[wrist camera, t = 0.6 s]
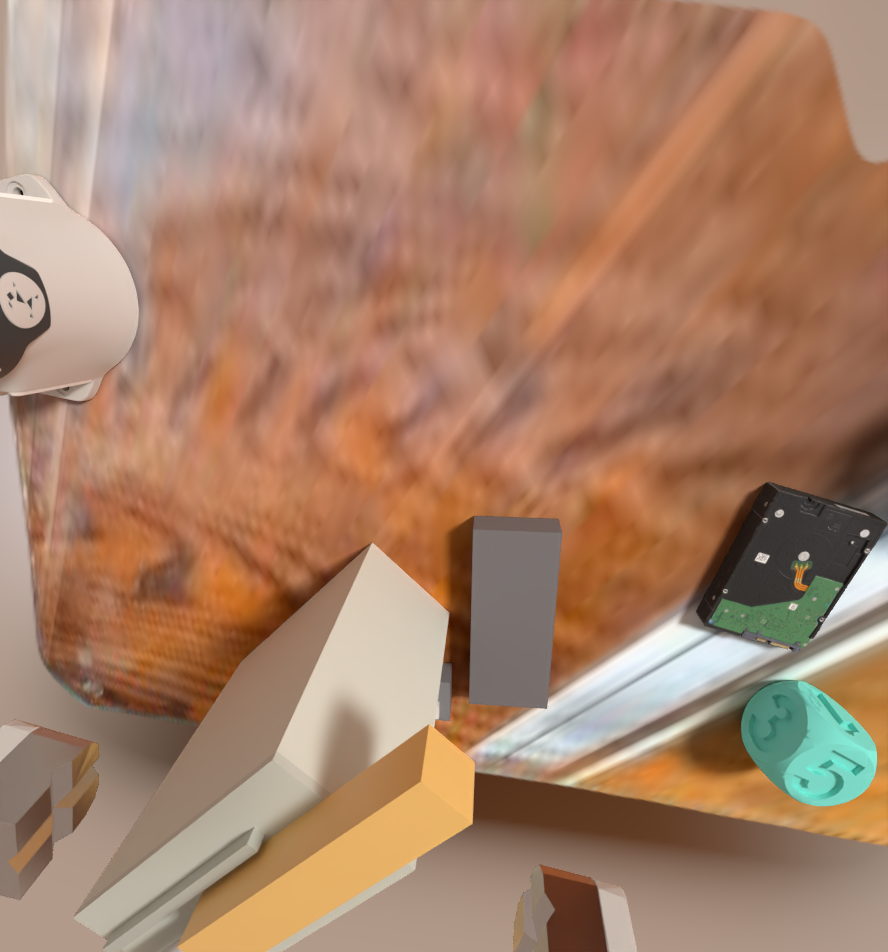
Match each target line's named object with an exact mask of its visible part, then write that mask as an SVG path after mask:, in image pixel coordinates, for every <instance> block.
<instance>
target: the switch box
mask: <svg viewBox="0 0 888 952" xmlns="http://www.w3.org/2000/svg"><path fill="white" fill-rule="evenodd" d="M451 704H452V663H443V665H442V672H441V680H440V687H439V695H438V703H437V710H436V718H435V720H442V721H450V714H451Z"/></svg>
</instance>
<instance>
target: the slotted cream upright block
mask: <svg viewBox="0 0 888 952" xmlns="http://www.w3.org/2000/svg"><path fill="white" fill-rule="evenodd" d="M448 620H449V612H448V611H447V610H446V609H445V608H444V607H442V606H441V605H440V604H439V603H438V602H437V601H436V600H435V599H434V598H433V597H432V596H430V595H429V594H428V593H427V592H426V591H425V590H424V589H423V588H422V587H421V586H419V585H418V584H417V583H416V582H415V581H414V580H413V579H412V578H411V577H410V576H408V575H407V574H406V573H405V572H404V571H403V570H402V569H401V568H400V567H399V566H397V565H396V564H395V563H394V562H393V561H392V560H391V559H390V558H389V557H388V556H386V555H385V554H384V553H383V552H382V551H381V550H380V549H379V548H378V547H377V546H375V545H374V544H373V543H371V544H370V545H369V546H368V547H367V548H366V549H365V550H363V551H362V552H361V553H360V554H359V555H358V556H357V557H356V558H355V559H353V560H352V561H351V562H350V563H349V564H348V565H347V566H346V567H345V568H344V569H342V570H341V571H340V572H339V573H338V574H337V575H336V576H335V577H334V578H333V579H331V580H330V581H329V582H328V583H327V584H326V585H325V586H324V587H323V588H322V589H320V590H319V591H318V592H317V593H316V594H315V595H314V596H313V597H312V598H311V599H309V600H308V601H307V602H306V603H305V604H304V605H303V606H302V607H301V608H299V609H298V610H297V611H296V612H295V613H294V614H293V615H292V616H291V617H290V618H288V619H287V620H286V621H285V622H284V623H283V624H282V625H281V626H280V627H279V628H277V629H276V630H275V631H274V632H273V633H272V634H271V635H270V636H269V637H268V638H266V639H265V640H264V641H263V642H262V643H261V644H260V645H259V646H258V647H257V648H255V649H254V650H253V651H252V652H251V653H250V654H249V655H248V656H247V657H245V658H244V659H243V660H242V661H241V663H240V664H239V666H238V667H237V669H236V670H235V672H234V673H233V675H232V676H231V678H230V679H229V681H228V683H227V684H226V686H225V687H224V689H223V690H222V692H221V693H220V695H219V696H218V698H217V699H216V701H215V702H214V704H213V705H212V707H211V708H210V710H209V711H208V713H207V714H206V716H205V718H204V719H203V721H202V722H201V724H200V725H199V727H198V728H197V730H196V731H195V733H194V734H193V736H192V737H191V739H190V740H189V742H188V743H187V745H186V746H185V748H184V749H183V751H182V753H181V754H180V756H179V757H178V759H177V760H176V762H175V763H174V765H173V766H172V768H171V769H170V771H169V772H168V774H167V775H166V777H165V778H164V780H163V781H162V783H161V785H160V786H159V788H158V789H157V791H156V792H155V794H154V795H153V797H152V798H151V800H150V801H149V803H148V804H147V806H146V807H145V809H144V811H143V812H142V814H141V815H140V816H139V818H138V820H137V821H136V823H135V824H134V826H133V827H132V829H131V830H130V832H129V833H128V835H127V836H126V838H125V839H124V841H123V842H122V844H121V845H120V847H119V848H118V850H117V851H116V853H115V855H114V856H113V858H112V859H111V861H110V862H109V864H108V865H107V867H106V868H105V870H104V871H103V873H102V874H101V876H100V877H99V879H98V881H97V882H96V883H95V885H94V886H93V888H92V889H91V891H90V893H89V894H88V896H87V897H86V899H85V900H84V902H83V903H82V905H81V906H80V908H79V909H78V911H77V912H76V914H75V916H74V917H73V919H75V920H77V921H78V922H80V923H81V924H83V925H84V926H86V927H88V928H89V929H91V930H92V931H94V932H95V933H97V934H98V935H100V936H102V937H103V938H105V939H106V940H108V941H107V942H106V944H105V946H104V948H103V949H102V950H103V951H105V952H119V951H120V950H121V949H122V950H124V951H125V952H160V951H162V950H163V949H164V948H166V947H167V946H169V945H170V944H172V943H173V942H175V941H176V940H178V939H179V938H180V937H182V935H183V933H184V931H185V929H186V927H187V925H188V922H189V920H190V918H191V916H192V914H193V912H194V910H195V908H196V906H197V903H198V901H199V899H200V897H201V895H202V893H203V891H204V890H205V889H207V888H208V887H209V886H211V885H212V884H214V883H215V882H216V881H218V880H219V879H221V878H222V877H223V876H225V875H226V874H228V873H229V872H230V871H232V870H233V869H234V868H236V867H237V866H239V865H240V864H241V863H243V862H244V861H246V860H247V859H248V858H250V857H251V856H253V855H254V854H255V853H257V852H258V850H259V848H260V845H262V844H263V843H265V842H266V841H267V840H269V839H270V838H272V837H273V836H274V835H276V834H277V833H279V832H280V831H281V830H283V829H284V828H285V827H287V826H288V825H290V824H291V823H292V822H294V821H295V820H297V819H298V818H299V817H301V816H302V815H303V814H305V813H306V812H308V811H309V810H310V809H312V808H313V807H315V806H316V805H317V804H319V803H320V802H322V801H323V800H324V799H326V798H327V797H328V796H330V795H331V794H333V793H334V792H335V791H337V790H338V789H340V788H341V787H342V786H344V785H345V784H346V783H348V782H349V781H351V780H352V779H353V778H355V777H356V776H358V775H359V774H360V773H362V772H363V771H365V770H366V769H367V768H369V767H370V766H371V765H373V764H374V763H376V762H377V761H378V760H380V759H381V758H383V757H384V756H385V755H387V754H388V753H389V752H391V751H392V750H394V749H395V748H396V747H398V746H399V745H401V744H402V743H403V742H405V741H406V740H408V739H409V738H410V737H412V736H413V735H414V734H416V733H417V732H419V731H420V730H421V729H423V728H424V727H426V726H427V725H428V724H430V725H431V726H432V727H433V728H434V725H435V718H436V710H437V703H438V695H439V687H440V680H441V672H442V665H443V657H444V650H445V642H446V635H447V627H448ZM416 860H417V858H416V859H415V860H413V861H411V862H410V863H408V864H407V865H405V866H403V867H402V868H400V869H398V870H397V871H395V872H394V873H392V874H390V875H389V876H387V877H386V878H384V879H382V880H381V881H379V882H378V883H376V884H374V885H373V886H371V887H369V888H368V889H366V890H365V891H363V892H361V893H360V894H358V895H357V896H355V897H353V898H352V899H350V900H348V901H347V902H345V903H344V904H342V905H340V906H339V907H337V908H336V909H334V910H332V911H331V912H329V913H327V914H326V915H324V916H323V917H321V918H319V919H318V920H316V921H315V922H313V923H311V924H310V925H308V926H306V927H305V928H303V929H302V930H300V931H298V932H297V933H295V934H294V935H292V936H290V937H289V938H287V939H286V940H284V941H282V942H281V943H279V944H277V945H276V946H274V947H273V948H271V949H269V950H268V951H266V952H282V951H283V950H285V949H287V948H288V947H290V946H292V945H293V944H295V943H297V942H298V941H300V940H301V939H303V938H305V937H306V936H308V935H310V934H311V933H313V932H314V931H316V930H318V929H320V928H321V927H323V926H324V925H326V924H328V923H329V922H331V921H333V920H334V919H336V918H338V917H339V916H341V915H342V914H344V913H346V912H347V911H349V910H351V909H352V908H354V907H355V906H357V905H359V904H360V903H362V902H364V901H365V900H367V899H369V898H370V897H372V896H373V895H375V894H377V893H378V892H380V891H382V890H383V889H385V888H387V887H388V886H390V885H392V884H393V883H395V882H396V881H398V880H400V879H401V878H403V877H405V876H406V875H408V874H410V873H411V872H413V871H414V870H415V869H416Z"/></svg>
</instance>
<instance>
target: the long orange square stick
mask: <svg viewBox="0 0 888 952" xmlns="http://www.w3.org/2000/svg"><path fill="white" fill-rule="evenodd" d="M474 771H475V762H474V761H472V760H471V759H470V758H469V757H468V756H466V755H465V754H464V753H463V752H462V751H461V750H459V749H458V748H457V747H456V746H455V745H453V744H452V743H451V742H450V741H449V740H448V739H446V738H445V737H444V736H443V735H442V734H440V733H439V732H438V731H437V730H436V729H435V728H433V727H432V726H431V725H430V724H428V725H427V726H426V727H424V728H423V729H421V730H420V731H419V732H417V733H416V734H414V735H413V736H412V737H410V738H409V739H408V740H406V741H405V742H403V743H402V744H401V745H399V746H398V747H396V748H395V749H394V750H392V751H391V752H389V753H388V754H387V755H385V756H384V757H383V758H381V759H380V760H378V761H377V762H376V763H374V764H373V765H371V766H370V767H369V768H367V769H366V770H365V771H363V772H362V773H360V774H359V775H358V776H356V777H355V778H353V779H352V780H351V781H349V782H348V783H346V784H345V785H344V786H342V787H341V788H340V789H338V790H337V791H335V792H334V793H333V794H331V795H330V796H328V797H327V798H326V799H324V800H323V801H322V802H320V803H319V804H317V805H316V806H315V807H313V808H312V809H310V810H309V811H308V812H306V813H305V814H303V815H302V816H301V817H299V818H298V819H297V820H295V821H294V822H292V823H291V824H290V825H288V826H287V827H285V828H284V829H283V830H281V831H280V832H279V833H277V834H276V835H274V836H273V837H272V838H270V839H269V840H267V841H266V842H265V843H263V844H262V845H260V848H259V850H258V852H257V853H255V854H254V855H253V856H251V857H250V858H248V859H247V860H246V861H244V862H243V863H241V864H240V865H239V866H237V867H236V868H234V869H233V870H232V871H230V872H229V873H228V874H226V875H225V876H223V877H222V878H221V879H219V880H218V881H216V882H215V883H214V884H212V885H211V886H209V887H208V888H207V889H205V890H204V891H203V893H202V895H201V897H200V899H199V901H198V903H197V906H196V908H195V910H194V912H193V914H192V916H191V918H190V920H189V922H188V925H187V927H186V929H185V931H184V933H183V935H182V937H180V938H179V939H178V940H176V941H175V942H173V943H172V944H170V945H169V946H167V947H166V948H164V949H163V950H162V951H160V952H266V951H268V950H269V949H271V948H273V947H274V946H276V945H277V944H279V943H281V942H282V941H284V940H286V939H287V938H289V937H290V936H292V935H294V934H295V933H297V932H298V931H300V930H302V929H303V928H305V927H306V926H308V925H310V924H311V923H313V922H315V921H316V920H318V919H319V918H321V917H323V916H324V915H326V914H327V913H329V912H331V911H332V910H334V909H336V908H337V907H339V906H340V905H342V904H344V903H345V902H347V901H348V900H350V899H352V898H353V897H355V896H357V895H358V894H360V893H361V892H363V891H365V890H366V889H368V888H369V887H371V886H373V885H374V884H376V883H378V882H379V881H381V880H382V879H384V878H386V877H387V876H389V875H390V874H392V873H394V872H395V871H397V870H398V869H400V868H402V867H403V866H405V865H407V864H408V863H410V862H411V861H413V860H415V859H416V858H418V857H419V856H421V855H423V854H424V853H426V852H428V851H429V850H431V849H432V848H434V847H435V846H437V845H439V844H440V843H442V842H444V841H445V840H447V839H448V838H450V837H452V836H453V835H455V834H457V833H458V832H460V831H461V830H463V829H465V828H466V827H468V826H469V825H471V824H472V822H473V796H474Z"/></svg>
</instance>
